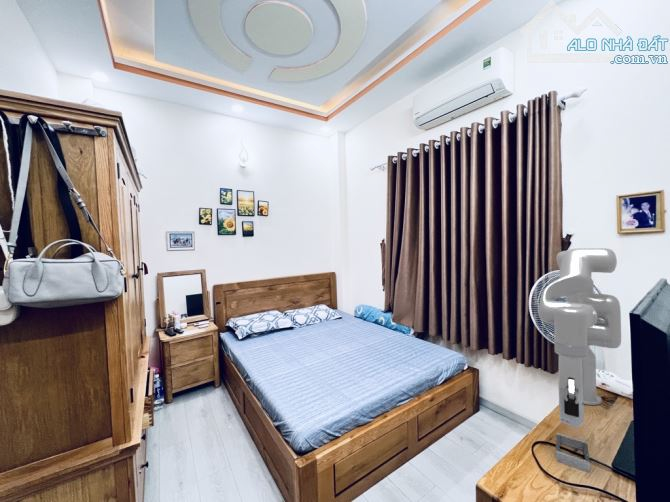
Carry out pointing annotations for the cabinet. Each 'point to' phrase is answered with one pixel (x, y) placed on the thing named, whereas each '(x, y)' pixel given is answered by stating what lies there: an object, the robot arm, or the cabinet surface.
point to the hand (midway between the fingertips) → (571, 408)
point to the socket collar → (568, 458)
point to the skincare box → (570, 419)
